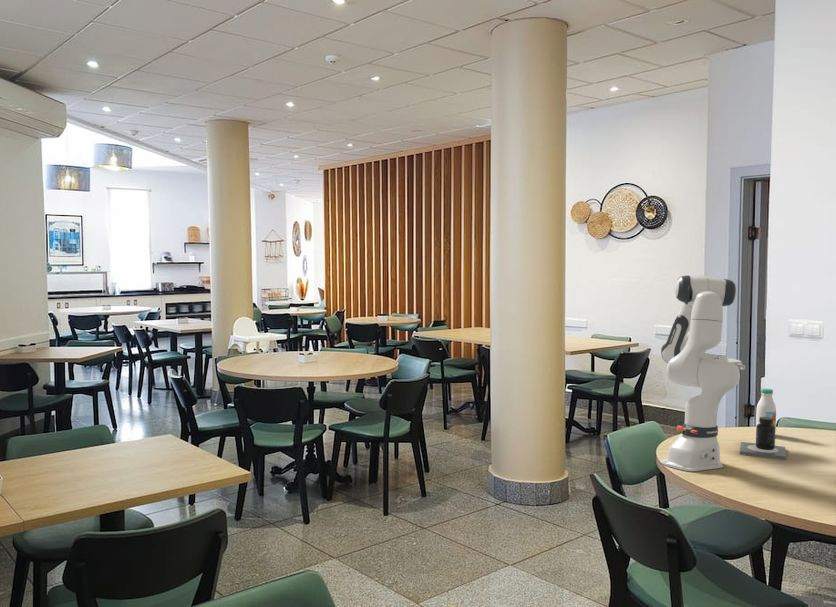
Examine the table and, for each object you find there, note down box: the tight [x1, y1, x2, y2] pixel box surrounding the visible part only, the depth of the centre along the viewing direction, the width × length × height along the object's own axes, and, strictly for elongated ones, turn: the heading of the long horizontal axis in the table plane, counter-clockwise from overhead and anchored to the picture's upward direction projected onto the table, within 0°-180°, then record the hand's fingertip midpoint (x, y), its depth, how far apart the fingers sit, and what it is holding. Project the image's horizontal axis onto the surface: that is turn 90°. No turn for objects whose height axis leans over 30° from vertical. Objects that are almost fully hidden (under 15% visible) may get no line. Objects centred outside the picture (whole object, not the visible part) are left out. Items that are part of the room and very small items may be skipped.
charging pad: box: [739, 441, 787, 460], centre depth 273 cm, size 16×16×1 cm
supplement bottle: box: [755, 417, 776, 450], centre depth 274 cm, size 7×7×12 cm
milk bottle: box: [755, 388, 777, 431], centre depth 301 cm, size 8×8×20 cm
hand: (735, 368), depth 281 cm, fingers open, 8 cm apart
